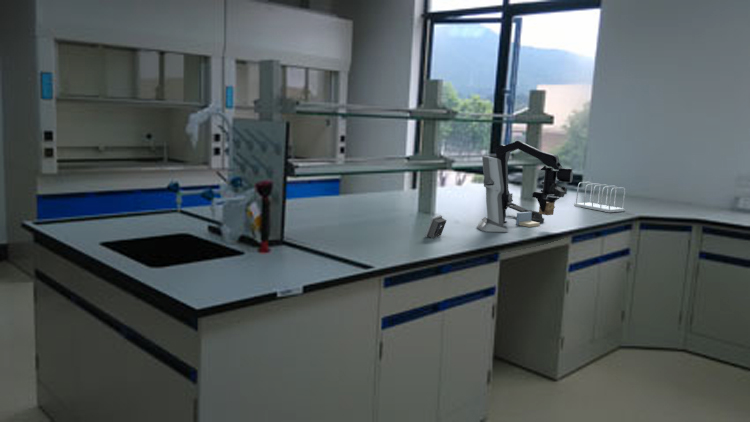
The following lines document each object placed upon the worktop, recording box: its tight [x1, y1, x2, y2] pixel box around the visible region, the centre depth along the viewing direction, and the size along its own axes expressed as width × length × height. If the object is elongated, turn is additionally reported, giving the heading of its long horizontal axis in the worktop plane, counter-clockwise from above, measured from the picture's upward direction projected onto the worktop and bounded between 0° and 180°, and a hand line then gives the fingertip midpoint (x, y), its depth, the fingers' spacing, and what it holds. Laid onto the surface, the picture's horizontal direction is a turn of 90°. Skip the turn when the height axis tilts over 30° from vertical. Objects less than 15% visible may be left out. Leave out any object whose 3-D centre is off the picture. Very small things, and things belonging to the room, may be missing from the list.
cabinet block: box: [538, 201, 556, 216], centre depth 296 cm, size 6×5×6 cm
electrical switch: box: [424, 215, 447, 239], centre depth 263 cm, size 9×5×9 cm, turn 147°
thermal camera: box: [476, 155, 508, 233], centre depth 285 cm, size 12×13×35 cm
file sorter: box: [573, 181, 626, 213], centre depth 378 cm, size 25×17×16 cm
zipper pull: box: [508, 202, 545, 224], centre depth 324 cm, size 9×7×25 cm
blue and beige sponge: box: [515, 212, 541, 228], centre depth 306 cm, size 7×11×6 cm, turn 130°
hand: (546, 211), depth 297 cm, fingers closed on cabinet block, 5 cm apart
